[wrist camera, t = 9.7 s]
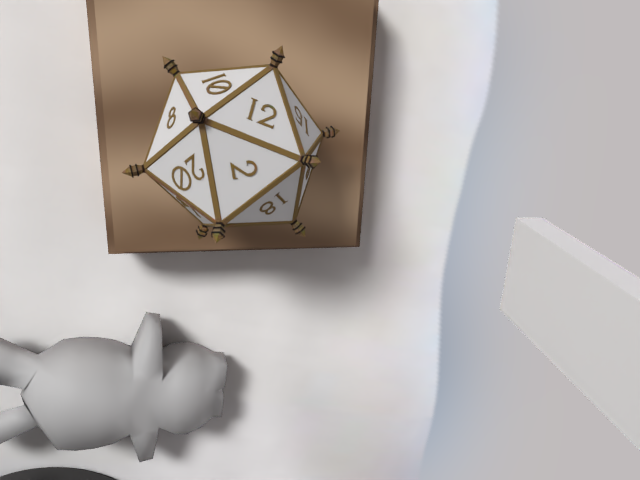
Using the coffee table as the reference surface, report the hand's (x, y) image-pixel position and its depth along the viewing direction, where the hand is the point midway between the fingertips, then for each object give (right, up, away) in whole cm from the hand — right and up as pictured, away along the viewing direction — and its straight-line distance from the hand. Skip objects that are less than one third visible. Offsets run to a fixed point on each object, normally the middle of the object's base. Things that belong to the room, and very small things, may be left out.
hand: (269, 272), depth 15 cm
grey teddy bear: (-13, -7, +24) cm, 28 cm away
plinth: (-4, +8, +19) cm, 21 cm away
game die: (-3, +6, +15) cm, 17 cm away
